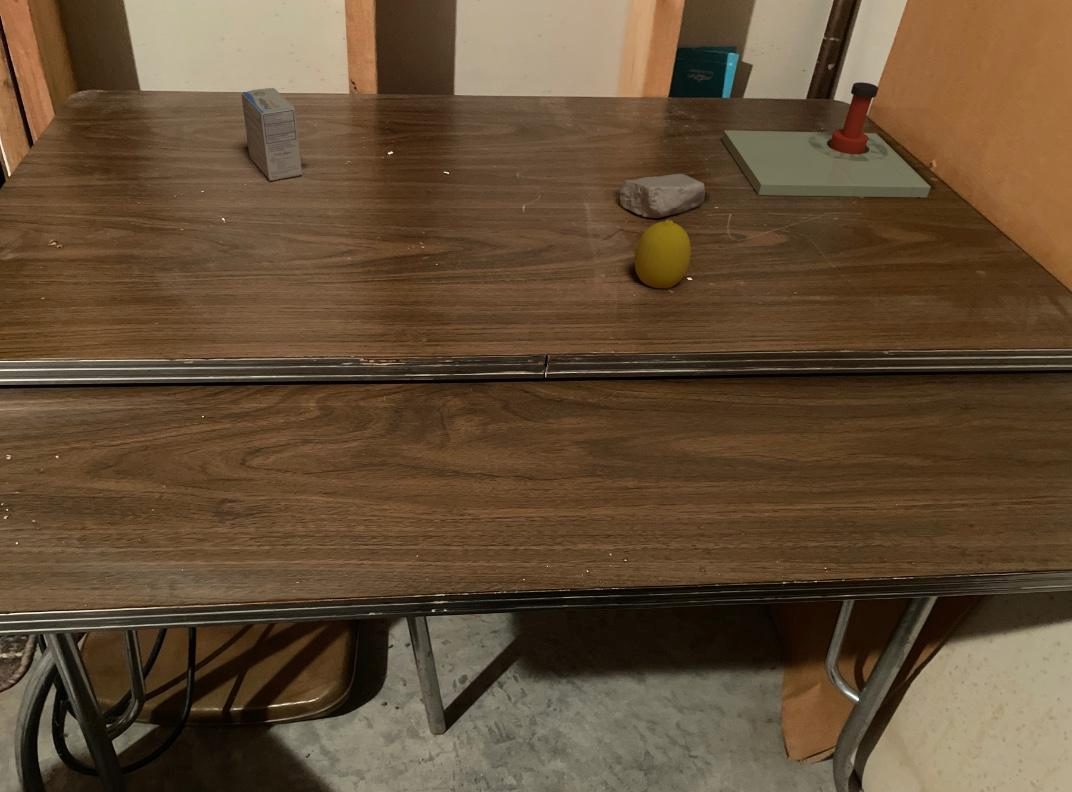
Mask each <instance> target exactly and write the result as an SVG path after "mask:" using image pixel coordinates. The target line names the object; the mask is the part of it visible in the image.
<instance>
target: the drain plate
mask: <svg viewBox="0 0 1072 792" xmlns="http://www.w3.org/2000/svg"><path fill="white" fill-rule="evenodd" d="M833 132H834V131H783V130H781V131H780V130H779V131H777V130H775V131H774V130H730V129H729V130H728V129H725V130H723V134H722V139H721V141H722V143H723V144H724V146H725V148H726V149H727V150H728V152H729V153H730V155H731V157H732V158H733V159H734V161H735V162H736V164H737V166H738V167H739V168H740V170H741V171H742V173H743V174H744V176H745V177H746V179H747V181H748V182H749V184H750V185H751V186H752V188H753V189H754V191H755V192H756V194H757V196H779V197H781V196H783V197H789V196H790V197H844V198H845V197H846V198H847V197H852V198H853V197H854V198H856V197H857V198H910V199H911V198H912V199H913V198H917V197H918V198H917V199H921V198H922V199H923V198H924V199H927V198H928V195H929V194H930V190H931V188H932V187H931V185H930V184H928V182H927V181H925V179H924V178H923V177H921V176H920V174H918V172H916V171H915V169H913V168H912V167H911V166H910V165H909V164H908V162H906V161H905V160H904V158H902V157H901V156H900V155H899V154H898V153H897V152H896V151H895V150H894V149H893V148H892V147H891V146H890V145H889V144H888V143H886V141H885V140H884V139H883V138H882V137H880V135H878V133H876V132H875V133H874V132H863V133H864V134H866V135H867V136H868V141H867V144H866V147H865V150H864V153H863V154H846V153H841V152H838V151H835V150H833V149H831V148H829V145H830V142H831V138H832V135H833ZM919 197H920V198H919Z"/></svg>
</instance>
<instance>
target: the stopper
mask: <svg viewBox="0 0 1072 792" xmlns="http://www.w3.org/2000/svg"><path fill="white" fill-rule="evenodd" d="M878 91H879V87H878V86H877V85H875V84H873V83H869V82H863V81H862V82H854V83H853V84H852V87H851V91H850V93H851V95H852V98H851V102H850V104H849V108H848V111H847V114H846V118H845V121H844V123H843V128H839V129H835V130H834V131H832V132H833V135H832V138H831V142H830V145H829V148H831V149H833V150H835V151H838V152H841V153H846V154H863V153H864V150H865V147H866V144H867V141H868V136H867V135H866V134H864V133H865V132H862V131H863V128H864V125H865V122H866V119H867V116H868V112H869V109H870V106H871V104H872V99H874V98H876V97H877V95H878Z"/></svg>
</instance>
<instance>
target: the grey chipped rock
mask: <svg viewBox="0 0 1072 792" xmlns="http://www.w3.org/2000/svg"><path fill="white" fill-rule="evenodd" d="M705 189H706V188H705V184H704V182H702V181H700V180H697V179H695V178H693V177H690V176H688V175H686V174H684V173H677V174H676V173H672V174H668V175H665V174H664V175H661V176H657V175H656V176H655V175H654V176H644V177H643V178H642V177H640V178H637V179H636V178H635V179H625V180H624V181H623V184H622V187H621V189H620V190H619V202H620V203H619V204H620V206H621V207H622V208H624V209H626V210H628V211H630V212H632V213H634V214H636V215H637V216H641V217H643V218H651V219H660V218H664V217H669V216H674V215H677V214H681V213H685V212H687V211H689V210H693V209H696V208H698V207H700V206H701V205H702V204H703V203H704V200H705V197H706V195H705V194H706V193H705V192H706V190H705Z"/></svg>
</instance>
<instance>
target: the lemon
mask: <svg viewBox="0 0 1072 792" xmlns="http://www.w3.org/2000/svg"><path fill="white" fill-rule="evenodd" d="M691 250H692V247H691V241H690V238H689V235H688V233H687V231H686V230H685V229H684V228H683V227H682V226H680V225H679V224H678V223H675V222H674V221H673V220H671V219H666V220H664V221H657V222H655V223H653V224H652V225H651V226H649V227H648V228H646V229H645V231H643V233H642V235H641V237H640V239H639V241H638V243H637V245H636V249H635V253H634V270H635V273H636V275H637V277H638V278H639V280H640V281H641V282H642V283H643V284H644V285H646V286H648V287H650V288H653V289H661V290H662V289H663V290H664V289H665V290H666V289H670V288H673V287H674V286H677V284H679V283H680V282H681V281H682V279H683V278H684V277H685V275H686V273H687V271H688V270H689V266H690V262H691V254H692V251H691Z"/></svg>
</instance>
